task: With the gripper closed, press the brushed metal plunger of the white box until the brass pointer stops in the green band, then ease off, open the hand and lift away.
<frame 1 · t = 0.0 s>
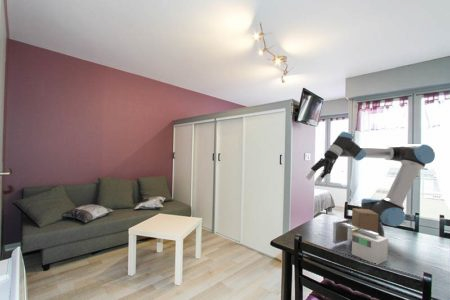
hand: (312, 180, 129), 36 cm above the table, tool tilted 35°, fingers open, 13 cm apart
white box: (369, 256, 108), on the table
gauge plunger: (356, 237, 113), point 8 cm above the table, slide at 0.0 cm
wooden block: (363, 245, 122), on the table
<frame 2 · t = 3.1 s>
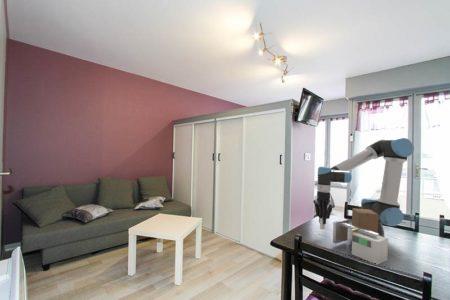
hand: (322, 228, 131), 5 cm above the table, tool pointing down, fingers closed
nothing on the table moved.
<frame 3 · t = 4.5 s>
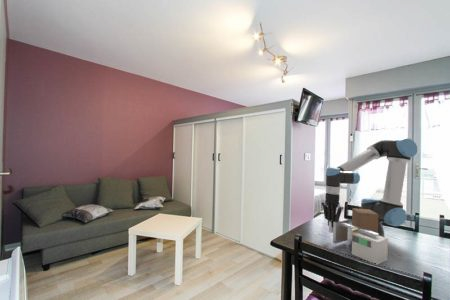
hand: (331, 232, 126), 5 cm above the table, tool pointing down, fingers closed
nothing on the table moved.
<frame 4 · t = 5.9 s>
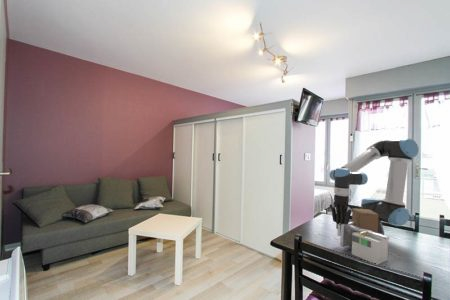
hand: (339, 235, 121), 5 cm above the table, tool pointing down, fingers closed
gauge plunger: (365, 240, 109), point 8 cm above the table, slide at 4.4 cm, touching hand
everything else where it was.
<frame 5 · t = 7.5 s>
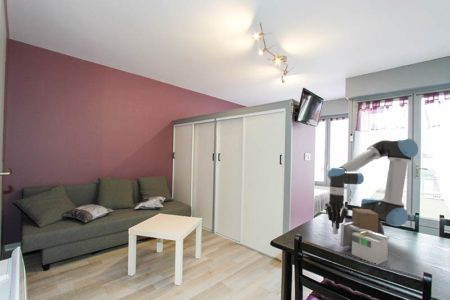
hand: (335, 233, 124), 5 cm above the table, tool pointing down, fingers closed
gauge plunger: (365, 240, 109), point 8 cm above the table, slide at 4.4 cm
everything else where it was.
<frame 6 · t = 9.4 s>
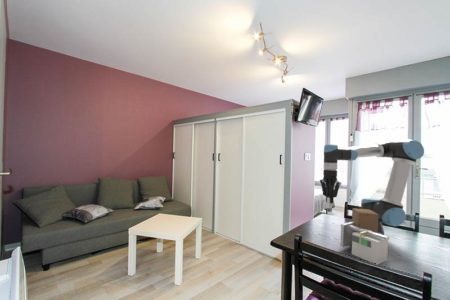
hand: (329, 208, 128), 19 cm above the table, tool pointing down, fingers closed
nothing on the table moved.
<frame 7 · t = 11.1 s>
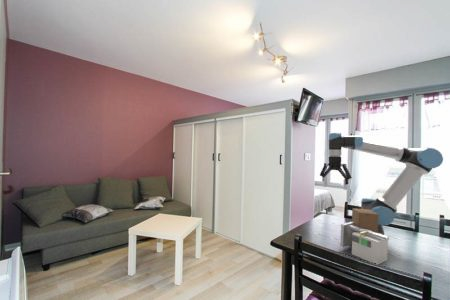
hand: (334, 188, 139), 30 cm above the table, tool pointing down, fingers open, 13 cm apart
nothing on the table moved.
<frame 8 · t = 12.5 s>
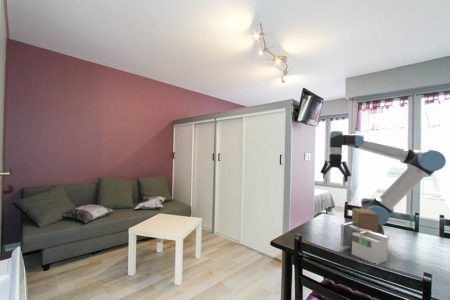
hand: (334, 185, 142), 32 cm above the table, tool pointing down, fingers open, 13 cm apart
nothing on the table moved.
at the end: gauge plunger slide at 4.4 cm; wooden block moved 0.2 cm from its start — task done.
